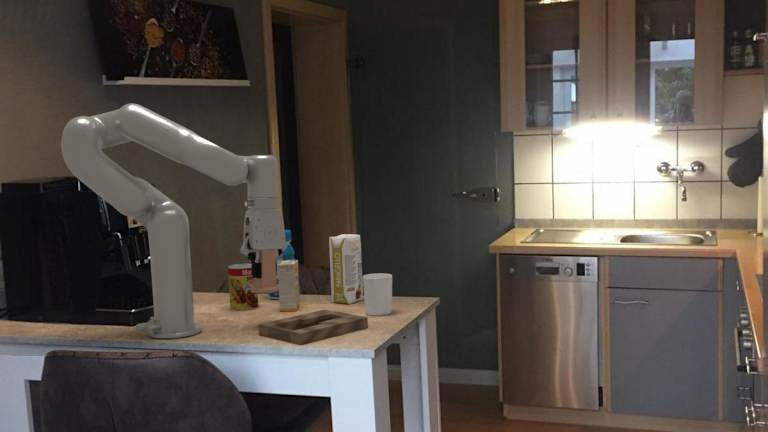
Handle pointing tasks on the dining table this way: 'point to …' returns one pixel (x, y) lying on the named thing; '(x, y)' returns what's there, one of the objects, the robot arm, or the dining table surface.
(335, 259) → the juice carton
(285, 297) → the supplement box
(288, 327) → the keyhole plate
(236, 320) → the dining table surface
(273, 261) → the footed peg
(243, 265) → the canned food
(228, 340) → the dining table surface
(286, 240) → the beverage bottle
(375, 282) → the white cup
